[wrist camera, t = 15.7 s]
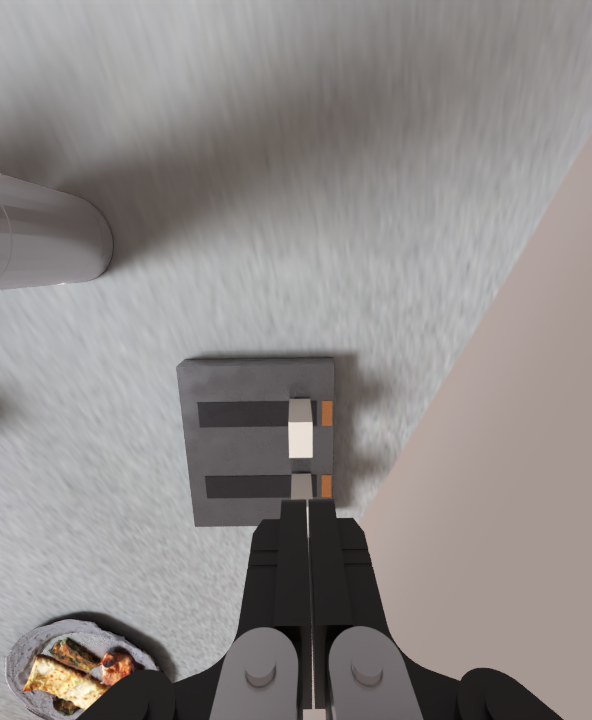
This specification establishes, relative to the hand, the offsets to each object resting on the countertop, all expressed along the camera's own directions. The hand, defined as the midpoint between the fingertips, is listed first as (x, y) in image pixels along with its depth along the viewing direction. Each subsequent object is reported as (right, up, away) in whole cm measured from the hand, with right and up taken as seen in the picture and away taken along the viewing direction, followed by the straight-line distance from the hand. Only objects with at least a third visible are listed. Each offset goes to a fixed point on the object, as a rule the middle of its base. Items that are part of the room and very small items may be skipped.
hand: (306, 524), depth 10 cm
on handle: (0, -2, +30) cm, 30 cm away
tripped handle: (0, -11, +33) cm, 35 cm away
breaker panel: (-5, -6, +35) cm, 36 cm away
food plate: (-34, -46, +47) cm, 74 cm away
